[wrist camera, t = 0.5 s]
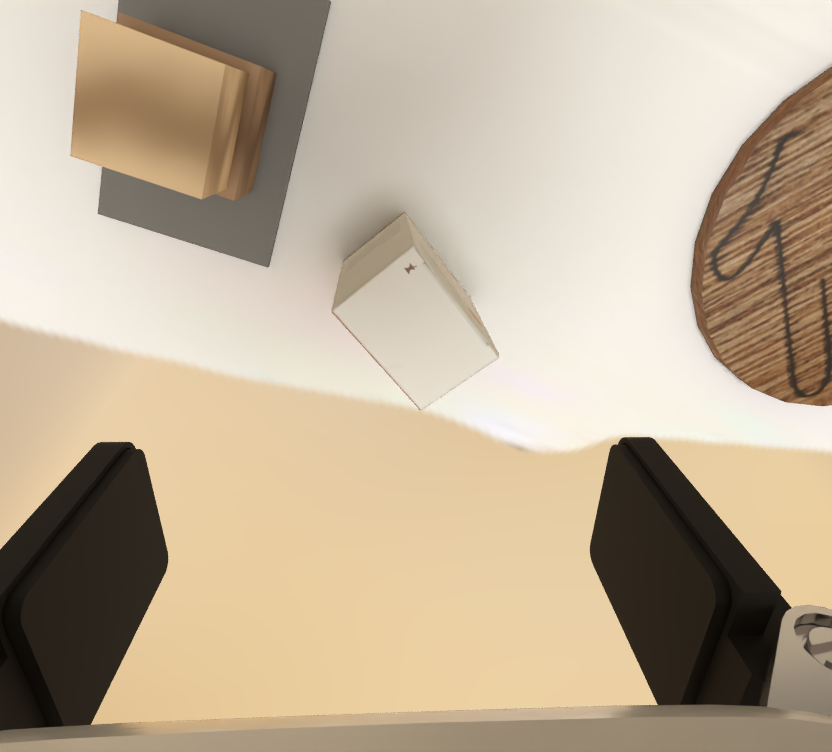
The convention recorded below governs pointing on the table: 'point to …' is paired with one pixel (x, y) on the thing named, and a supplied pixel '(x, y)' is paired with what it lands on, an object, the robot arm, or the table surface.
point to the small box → (412, 314)
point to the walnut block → (252, 110)
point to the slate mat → (295, 65)
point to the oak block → (154, 109)
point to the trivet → (773, 254)
